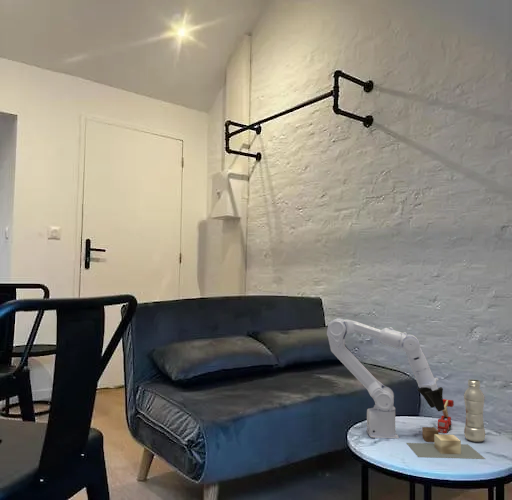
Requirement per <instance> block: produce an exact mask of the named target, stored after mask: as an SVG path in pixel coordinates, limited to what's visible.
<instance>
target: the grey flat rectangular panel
mask: <svg viewBox="0 0 512 500" xmlns="http://www.w3.org/2000/svg"><path fill="white" fill-rule="evenodd" d="M406 445H407V446H408V447H409V448H410V449H411V451H412V452H413V453H414V454H415V456H416V457H417V458H427V459H428V458H429V459H430V458H432V459H466V460H486V458H485V457H484V456H483V455H482V454H480V453H479V452H478V451H477V450H476V449H474V448H473V447H472V446H470V445H469V444H464V443H461V454H441V453H440V452H439V451H438V450H437V449H436V448H435V447H434V442H422V443H421V442H406Z"/></svg>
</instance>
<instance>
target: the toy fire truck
mask: <svg viewBox="0 0 512 500" xmlns="http://www.w3.org/2000/svg"><path fill="white" fill-rule="evenodd" d="M443 403H444V410H442V411H441V412H442V414H443V415H441V417H440V418H438V420H437V428H436V429H437V430H438V433H440V434H448V433H449V431H451V429H452V416H449V413H448V407H451V408H453V407H454V400H453V399H446V398H445V399H444V398H443Z"/></svg>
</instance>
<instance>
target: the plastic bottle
mask: <svg viewBox="0 0 512 500" xmlns="http://www.w3.org/2000/svg"><path fill="white" fill-rule="evenodd" d="M467 382H468V383H467V386H468V388H466V390H465V392H464V394H463V400H464V405H465V425H464V430H463V432H464V437H465V439H466V440H467V441H469V442H472V443H473V442H475V443H483V442H484V440H486V430H485V424H484V405H485V398H486V397H485V395H484V393H483V391H482V389H480V387H481V381H480V380H478V379H473V378H472V379H470V378H469V379H468V380H467Z"/></svg>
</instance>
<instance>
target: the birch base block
mask: <svg viewBox="0 0 512 500" xmlns="http://www.w3.org/2000/svg"><path fill="white" fill-rule="evenodd" d="M433 444H434V447H435V448H436V449H437V450H438V451H439V452H440V453H441V454H461V444H462V443H461V440H460V439H459V438H458V437H457V436H456V435H454V434H445V433H440V434H439V433H438V434H434V442H433Z"/></svg>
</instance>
